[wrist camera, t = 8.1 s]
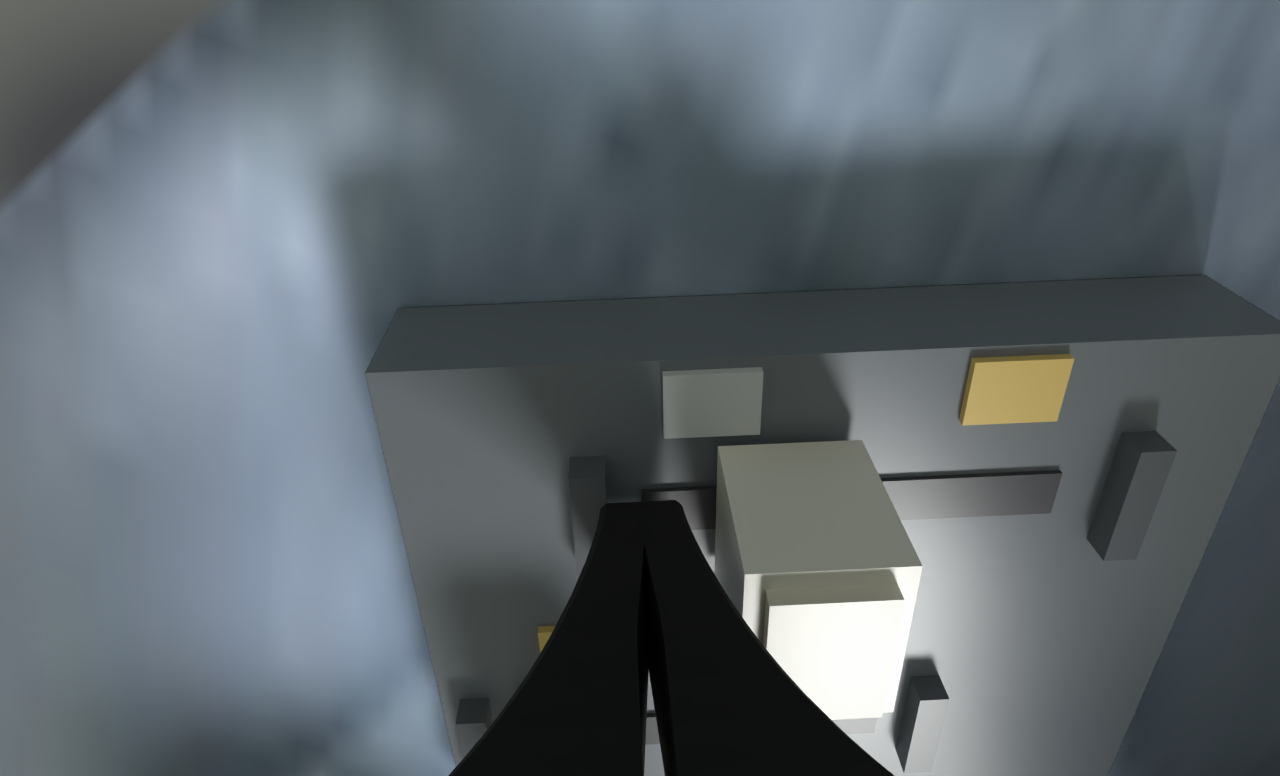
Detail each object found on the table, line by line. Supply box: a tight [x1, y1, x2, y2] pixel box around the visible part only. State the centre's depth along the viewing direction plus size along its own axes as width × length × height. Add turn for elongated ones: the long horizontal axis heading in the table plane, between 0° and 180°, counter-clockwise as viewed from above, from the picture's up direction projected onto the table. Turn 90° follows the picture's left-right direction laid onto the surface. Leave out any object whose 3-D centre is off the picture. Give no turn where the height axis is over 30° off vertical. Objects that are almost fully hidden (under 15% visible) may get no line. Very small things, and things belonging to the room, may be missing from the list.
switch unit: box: [365, 275, 1280, 776], centre depth 18 cm, size 15×15×3 cm
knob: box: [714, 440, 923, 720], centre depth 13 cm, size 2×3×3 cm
